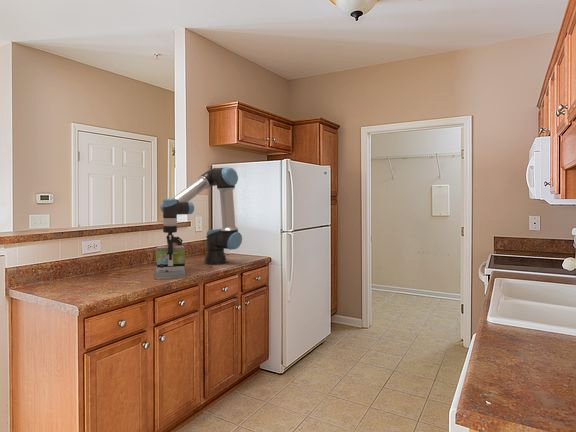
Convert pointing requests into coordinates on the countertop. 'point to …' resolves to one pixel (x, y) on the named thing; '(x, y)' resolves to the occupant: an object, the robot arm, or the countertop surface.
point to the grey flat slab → (170, 275)
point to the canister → (176, 241)
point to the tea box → (163, 259)
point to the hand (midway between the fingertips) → (170, 264)
